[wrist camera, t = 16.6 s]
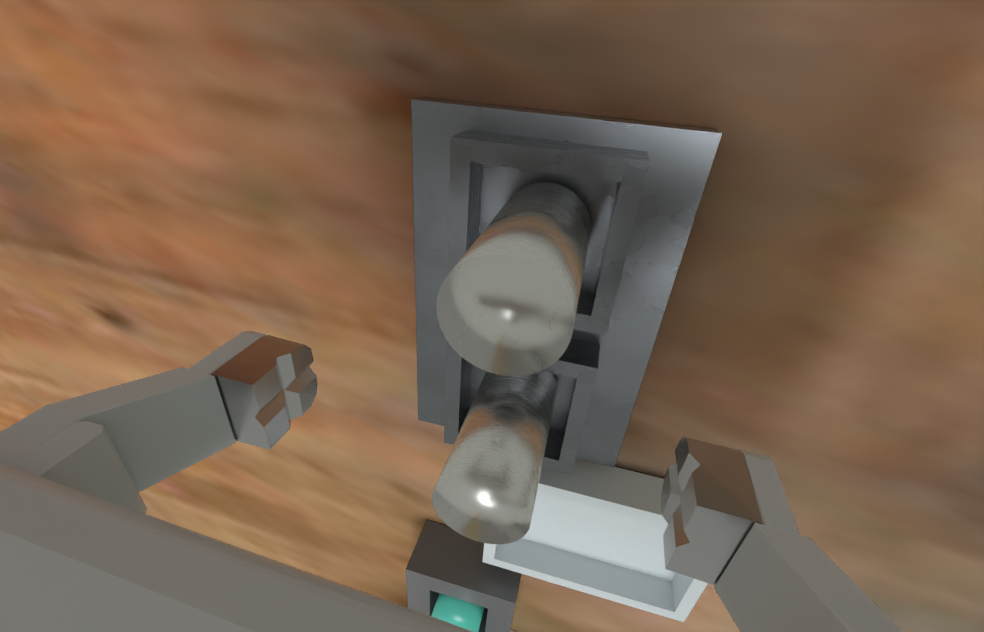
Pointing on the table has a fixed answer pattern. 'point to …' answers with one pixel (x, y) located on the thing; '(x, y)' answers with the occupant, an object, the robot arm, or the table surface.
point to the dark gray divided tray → (609, 262)
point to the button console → (459, 577)
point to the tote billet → (519, 284)
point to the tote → (601, 540)
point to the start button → (458, 612)
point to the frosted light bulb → (497, 459)
